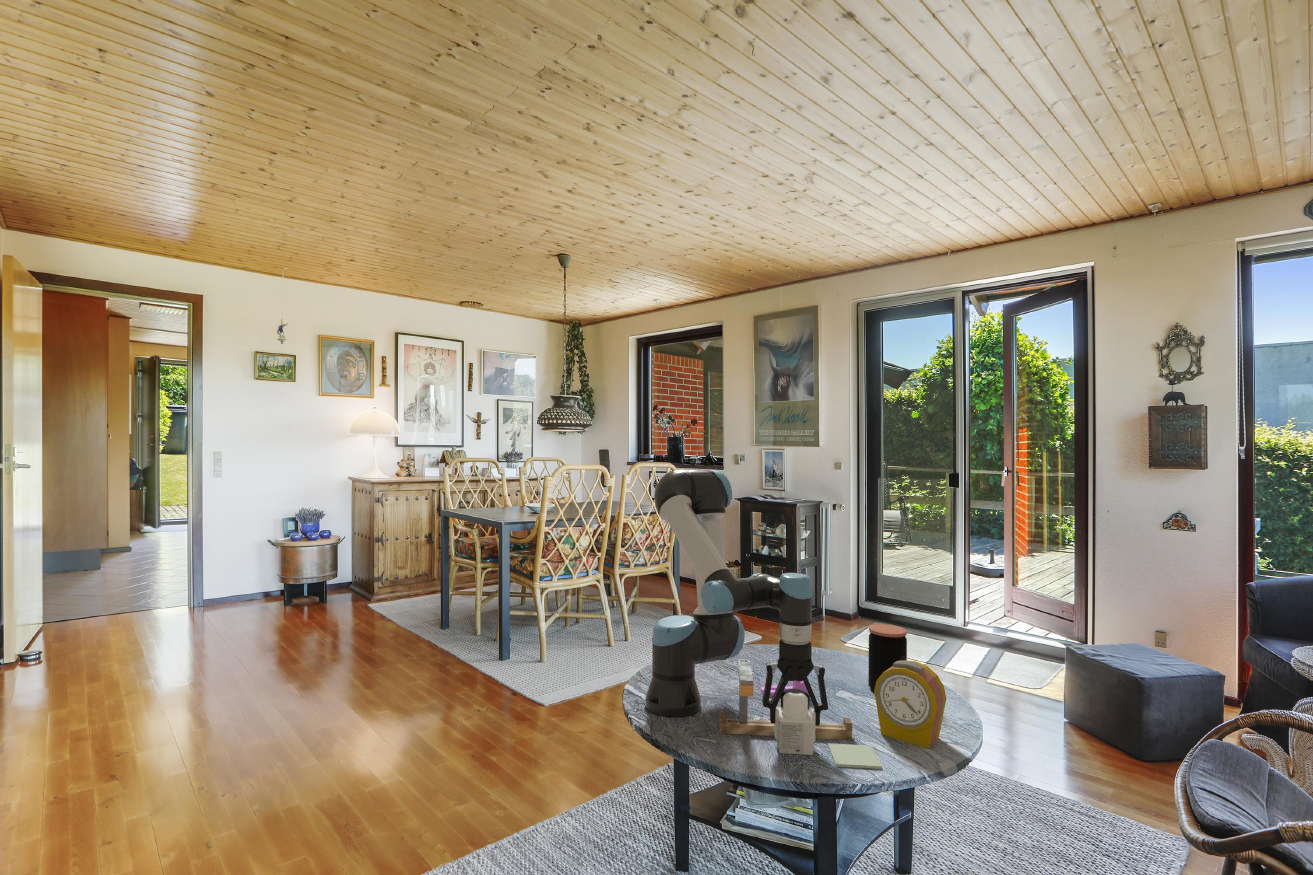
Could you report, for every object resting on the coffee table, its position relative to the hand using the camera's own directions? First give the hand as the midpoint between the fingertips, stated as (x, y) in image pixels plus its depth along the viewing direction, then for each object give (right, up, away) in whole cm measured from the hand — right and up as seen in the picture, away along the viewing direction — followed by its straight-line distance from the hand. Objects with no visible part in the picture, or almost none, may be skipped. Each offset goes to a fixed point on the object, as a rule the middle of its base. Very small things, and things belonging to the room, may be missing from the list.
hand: (794, 737), depth 151 cm
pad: (+13, -2, -5) cm, 14 cm away
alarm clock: (+30, -3, +6) cm, 30 cm away
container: (0, -2, 0) cm, 2 cm away
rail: (-1, -2, +7) cm, 7 cm away
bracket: (+4, -3, +33) cm, 34 cm away
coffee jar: (+35, -4, +37) cm, 51 cm away
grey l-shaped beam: (-12, +1, +1) cm, 12 cm away
